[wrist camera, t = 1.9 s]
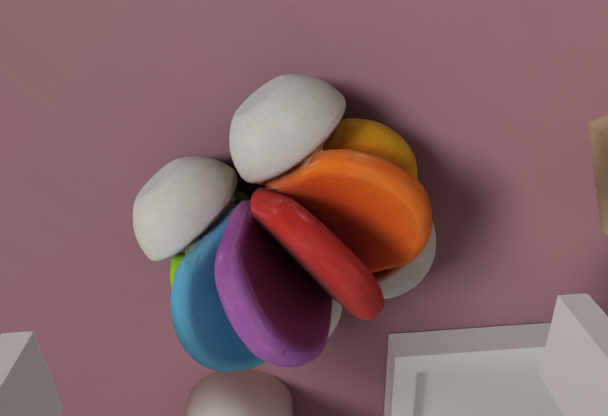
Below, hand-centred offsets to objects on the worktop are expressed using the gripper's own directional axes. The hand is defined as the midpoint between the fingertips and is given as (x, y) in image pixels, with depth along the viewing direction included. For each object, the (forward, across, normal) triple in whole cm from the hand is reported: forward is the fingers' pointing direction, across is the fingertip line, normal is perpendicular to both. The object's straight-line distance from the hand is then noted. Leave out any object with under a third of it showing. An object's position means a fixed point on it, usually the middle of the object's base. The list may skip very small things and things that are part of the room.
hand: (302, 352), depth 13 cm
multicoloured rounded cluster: (+8, 0, +1) cm, 8 cm away
